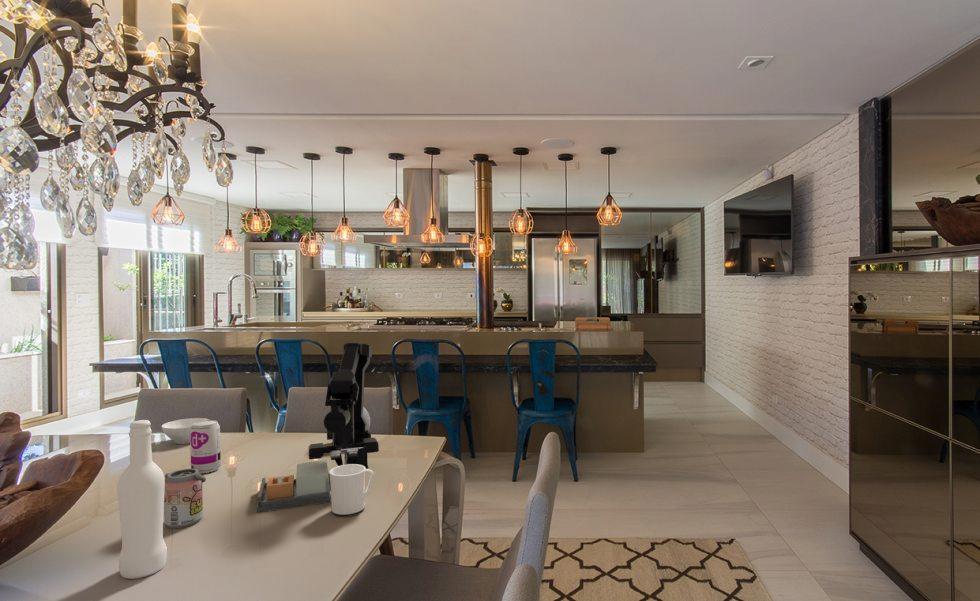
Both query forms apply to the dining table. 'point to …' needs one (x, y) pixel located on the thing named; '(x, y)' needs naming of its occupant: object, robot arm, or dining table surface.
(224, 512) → the dining table surface
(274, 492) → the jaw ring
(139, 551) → the bottle
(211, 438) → the supplement can
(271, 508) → the housing base
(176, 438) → the bowl
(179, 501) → the pink grey lidded container
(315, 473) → the housing cover
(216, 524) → the dining table surface
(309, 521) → the dining table surface
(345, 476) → the mug
